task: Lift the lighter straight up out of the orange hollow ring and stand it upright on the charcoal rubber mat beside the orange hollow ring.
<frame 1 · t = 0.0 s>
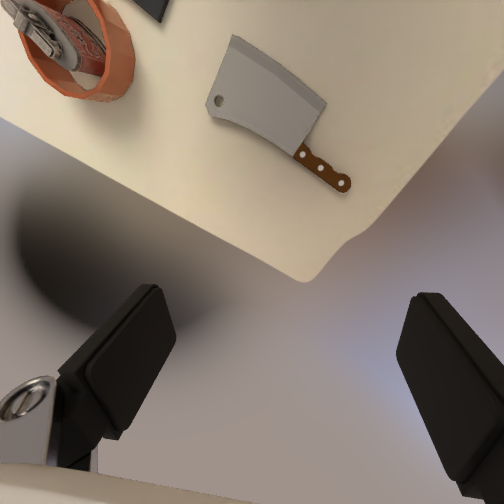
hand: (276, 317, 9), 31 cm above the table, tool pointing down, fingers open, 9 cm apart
orange hollow ring: (94, 51, 33), on the table
lighter: (95, 51, 33), resting in orange hollow ring
kitchen cleaver: (290, 126, 34), on the table
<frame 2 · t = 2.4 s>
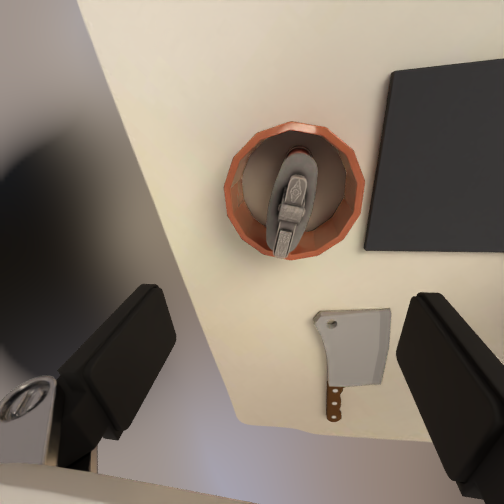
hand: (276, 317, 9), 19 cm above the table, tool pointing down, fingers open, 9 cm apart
orange hollow ring: (291, 187, 25), on the table
lighter: (291, 186, 25), resting in orange hollow ring
kitchen cleaver: (347, 368, 36), on the table
mat: (495, 168, 21), on the table
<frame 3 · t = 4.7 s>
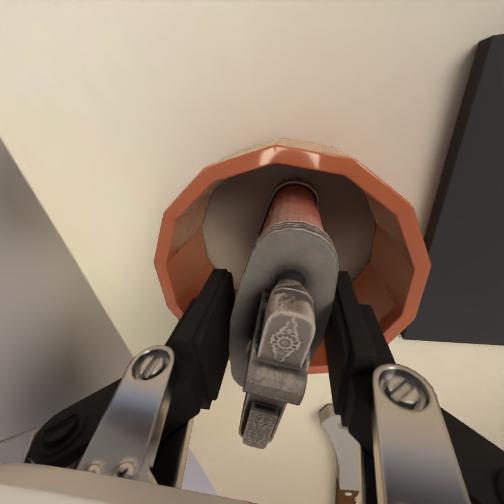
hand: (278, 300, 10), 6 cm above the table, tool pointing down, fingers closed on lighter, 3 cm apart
orange hollow ring: (283, 242, 15), on the table
lighter: (283, 241, 15), resting in orange hollow ring, touching gripper
kitchen cleaver: (365, 466, 27), on the table
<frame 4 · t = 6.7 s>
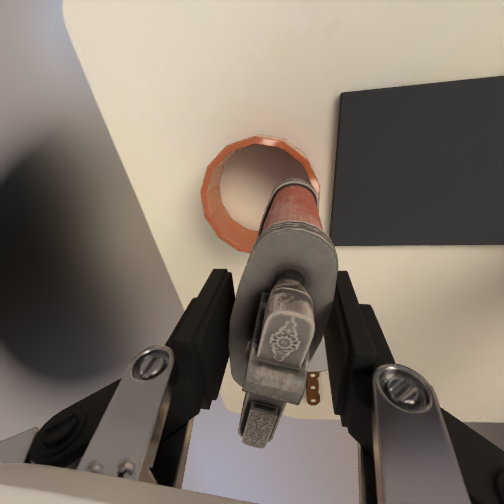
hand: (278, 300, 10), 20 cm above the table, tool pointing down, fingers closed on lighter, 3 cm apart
orange hollow ring: (263, 190, 28), on the table
lighter: (283, 241, 15), point 14 cm above the table, touching gripper
kitchen cleaver: (323, 354, 40), on the table
mat: (433, 173, 25), on the table
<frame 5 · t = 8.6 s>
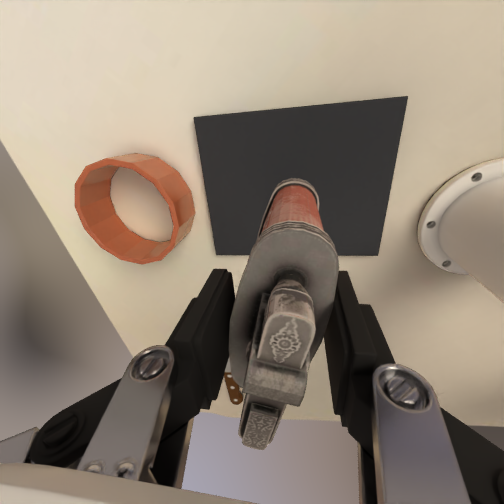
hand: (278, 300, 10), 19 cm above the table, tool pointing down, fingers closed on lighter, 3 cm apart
orange hollow ring: (149, 203, 30), on the table
lighter: (283, 241, 15), point 13 cm above the table, touching gripper
kitchen cleaver: (237, 356, 42), on the table
mat: (292, 190, 27), on the table
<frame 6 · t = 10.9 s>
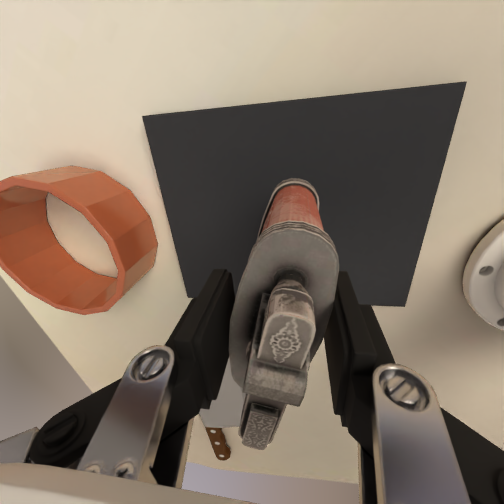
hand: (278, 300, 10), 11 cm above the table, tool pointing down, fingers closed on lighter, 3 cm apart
orange hollow ring: (98, 231, 23), on the table
lighter: (283, 241, 15), point 5 cm above the table, touching gripper
kitchen cleaver: (222, 408, 34), on the table
mat: (287, 217, 19), on the table
when the fingers open (7 cm above the table, at t = 12.4 s): lighter stays where it is, resting on mat.
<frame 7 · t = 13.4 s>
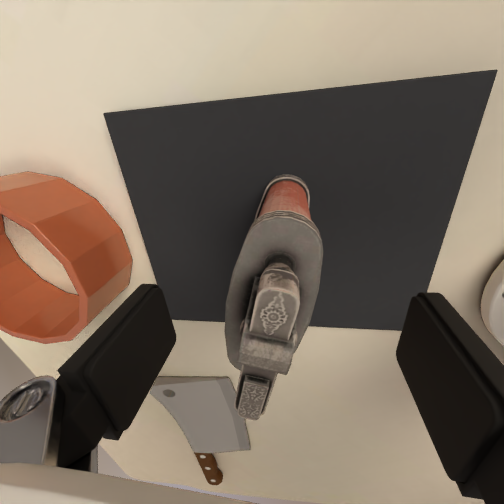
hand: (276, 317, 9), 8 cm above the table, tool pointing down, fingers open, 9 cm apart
orange hollow ring: (64, 245, 20), on the table
lighter: (277, 234, 16), point 1 cm above the table, touching mat
kitchen cleaver: (213, 432, 32), on the table
mat: (278, 231, 17), on the table
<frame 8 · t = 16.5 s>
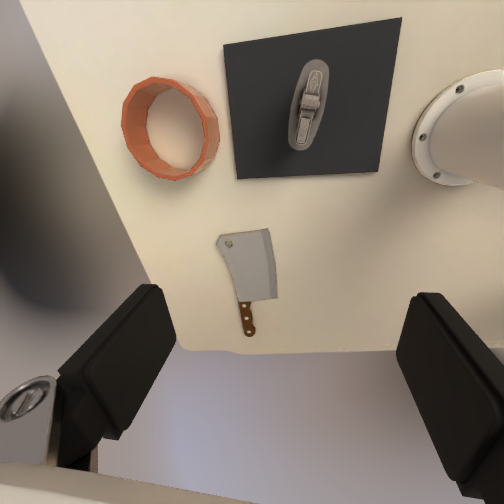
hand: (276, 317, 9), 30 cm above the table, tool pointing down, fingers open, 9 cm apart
orange hollow ring: (180, 132, 35), on the table
lighter: (304, 112, 31), point 1 cm above the table, touching mat
kitchen cleaver: (252, 287, 47), on the table
mat: (305, 112, 32), on the table
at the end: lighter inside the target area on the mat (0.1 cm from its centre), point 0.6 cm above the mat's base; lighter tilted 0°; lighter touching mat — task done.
